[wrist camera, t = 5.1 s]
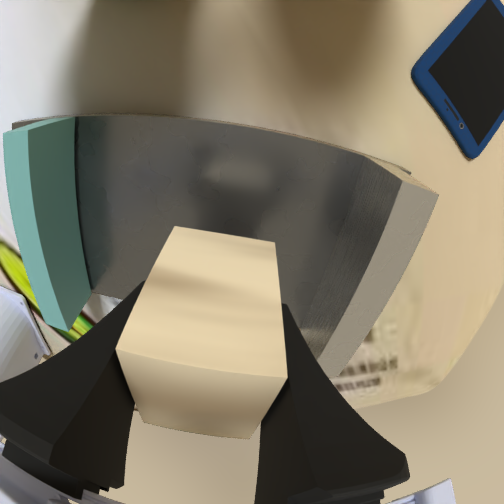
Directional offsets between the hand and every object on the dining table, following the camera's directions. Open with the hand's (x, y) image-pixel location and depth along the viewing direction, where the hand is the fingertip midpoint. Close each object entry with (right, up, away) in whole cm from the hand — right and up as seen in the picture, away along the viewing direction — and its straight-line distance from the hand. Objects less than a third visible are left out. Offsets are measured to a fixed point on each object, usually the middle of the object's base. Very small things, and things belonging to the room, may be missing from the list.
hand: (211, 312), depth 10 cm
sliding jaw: (-10, +4, +4) cm, 11 cm away
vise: (-3, +4, +5) cm, 7 cm away
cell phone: (+17, +15, -1) cm, 22 cm away
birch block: (0, +1, +2) cm, 2 cm away
